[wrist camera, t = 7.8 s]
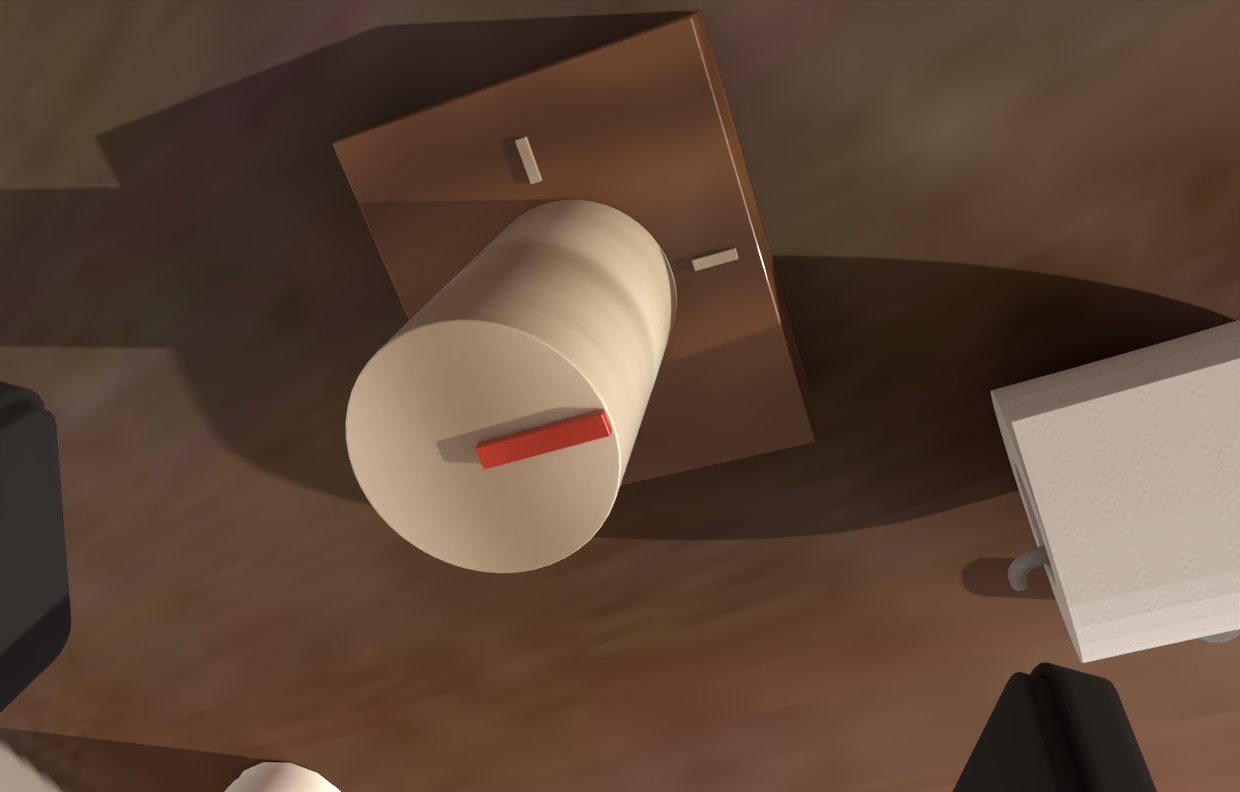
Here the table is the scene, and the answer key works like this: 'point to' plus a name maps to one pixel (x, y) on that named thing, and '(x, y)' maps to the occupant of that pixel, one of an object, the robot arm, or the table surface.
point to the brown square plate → (627, 181)
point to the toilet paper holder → (1134, 492)
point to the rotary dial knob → (517, 391)
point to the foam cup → (280, 779)
